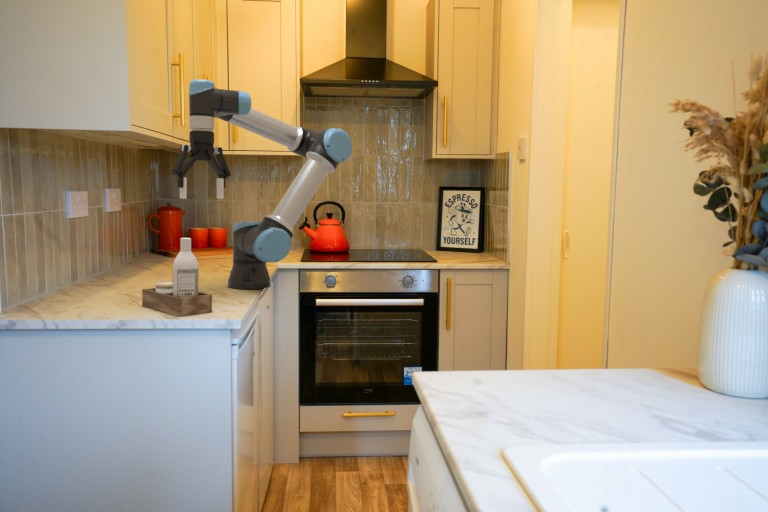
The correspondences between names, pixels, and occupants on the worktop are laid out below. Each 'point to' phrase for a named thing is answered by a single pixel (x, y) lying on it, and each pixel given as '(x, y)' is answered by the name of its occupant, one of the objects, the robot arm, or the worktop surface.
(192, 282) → the bath foam
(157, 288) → the cream jar
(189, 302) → the caddy
